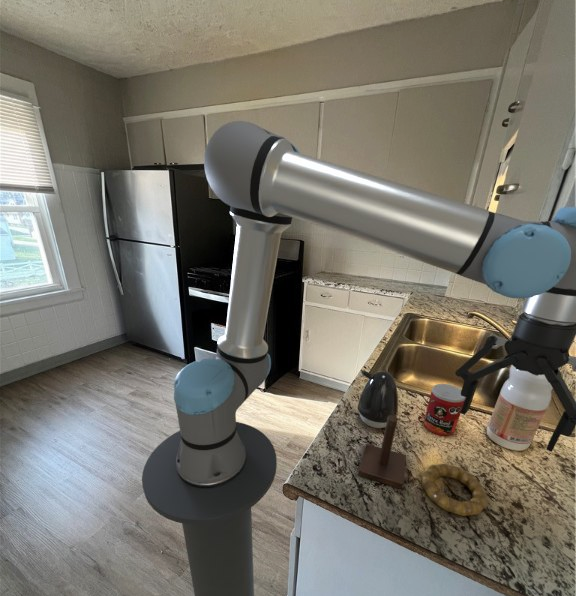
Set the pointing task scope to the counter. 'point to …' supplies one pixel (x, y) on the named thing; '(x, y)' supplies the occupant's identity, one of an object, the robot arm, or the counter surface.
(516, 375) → the fruit juice
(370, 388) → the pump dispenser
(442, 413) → the canned food
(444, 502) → the ring
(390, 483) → the post
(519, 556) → the counter surface
